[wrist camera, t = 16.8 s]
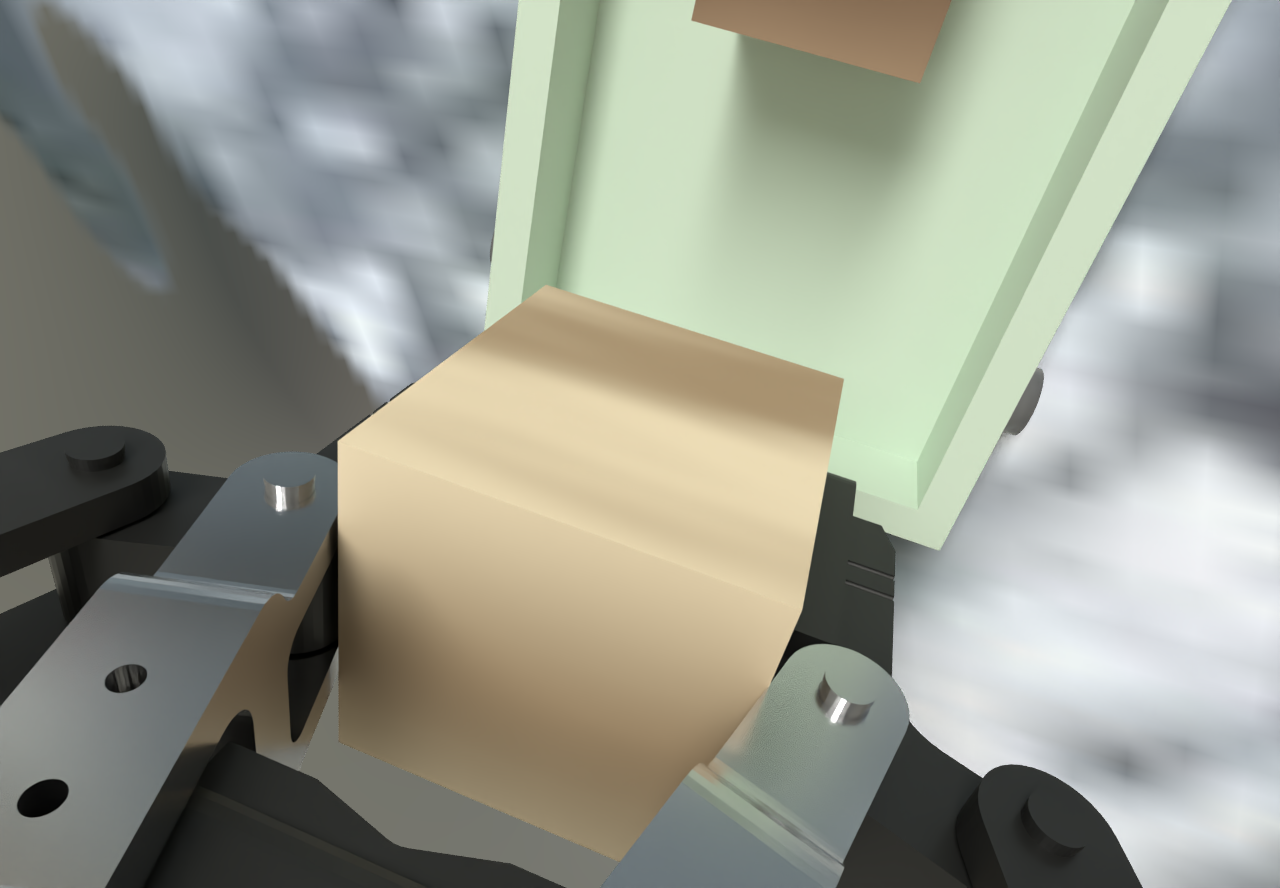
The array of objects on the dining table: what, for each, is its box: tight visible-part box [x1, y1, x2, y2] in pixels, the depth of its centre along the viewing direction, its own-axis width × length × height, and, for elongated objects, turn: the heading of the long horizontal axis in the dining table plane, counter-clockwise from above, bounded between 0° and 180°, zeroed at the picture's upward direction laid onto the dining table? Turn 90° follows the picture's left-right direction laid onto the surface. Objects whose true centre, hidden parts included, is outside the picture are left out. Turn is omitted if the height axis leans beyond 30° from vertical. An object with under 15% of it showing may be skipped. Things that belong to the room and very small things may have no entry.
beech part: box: [338, 285, 844, 862], centre depth 10 cm, size 4×4×5 cm
